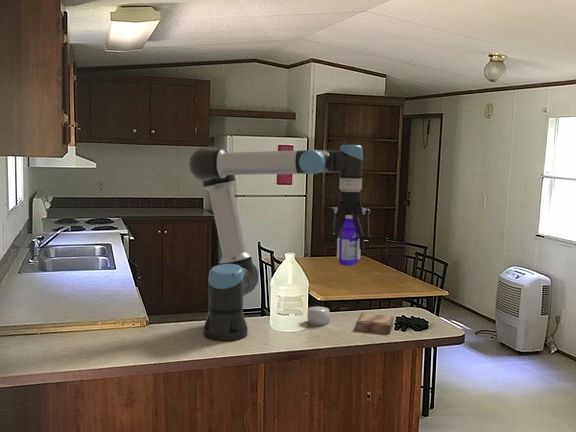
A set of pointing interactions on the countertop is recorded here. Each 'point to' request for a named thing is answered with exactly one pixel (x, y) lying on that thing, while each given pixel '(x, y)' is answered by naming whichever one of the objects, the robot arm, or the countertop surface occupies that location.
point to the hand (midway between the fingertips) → (348, 257)
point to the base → (375, 323)
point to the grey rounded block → (318, 315)
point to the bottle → (348, 242)
